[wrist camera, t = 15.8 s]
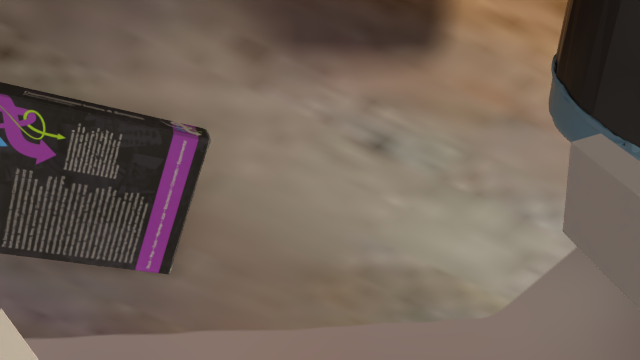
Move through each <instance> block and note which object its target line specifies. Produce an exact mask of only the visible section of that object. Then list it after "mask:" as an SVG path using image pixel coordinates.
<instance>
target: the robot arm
mask: <svg viewBox="0 0 640 360" xmlns="http://www.w3.org/2000/svg"><path fill="white" fill-rule="evenodd" d="M551 70H552V76H553V78H552V84H551V91H550V97H549V112H550V114H551V116H552V118H553V121H554V124H555V126H556V128H557V129H558V130H559V131H560V132H561V134H562V135H563V136H564V137H565V138H566V139H567V140H569V141H570V142H571V147H570V158H569V169H568V180H567V191H566V202H565V213H564V224H563V232H564V233H565V234H566V235H567V236H568V237H569V238H570V239H571V240H572V241H573V242H574V243H575V245H576V246H577V247H578V248H579V249H580V250H581V251H582V252H583V253H584V254H585V255H586V256H587V257H588V258H589V259H590V260H591V261H592V262H593V263H594V264H595V265H596V266H597V267H598V268H599V269H600V270H601V271H602V272H603V273H604V274H605V275H606V277H607V278H608V279H609V280H610V281H611V282H612V283H613V284H614V285H615V286H616V287H617V288H618V289H619V290H620V291H621V292H622V293H623V294H624V295H625V296H626V297H627V298H628V299H629V300H630V301H631V302H632V303H633V304H634V305H635V306H636V307H637V309H638V310H639V311H640V0H568V2H567V6H566V11H565V16H564V21H563V25H562V30H561V35H560V40H559V44H558V49H557V53H556V55H555V56H554V57H553V61H552V68H551ZM0 360H39V359H38V358H37V357H36V355H35V354H34V353H33V352H32V350H31V348H30V347H29V346H28V345H27V343H26V342H25V340H24V339H23V338H22V336H21V335H20V333H19V332H18V331H17V329H16V328H15V327H14V325H13V324H12V323H11V321H10V320H9V318H8V317H7V316H6V314H5V313H4V312H3V310H2V309H0Z"/></svg>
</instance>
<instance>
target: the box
mask: <svg viewBox="0 0 640 360" xmlns="http://www.w3.org/2000/svg"><path fill="white" fill-rule="evenodd" d="M210 142H211V139H210V136H209V133H208V132H207V130H205V129H203V128H199V127H195V126H190V125H186V124H181V123H177V122H173V121H168V120H164V119H160V118H155V117H151V116H146V115H142V114H138V113H134V112H129V111H125V110H120V109H116V108H111V107H107V106H103V105H98V104H93V103H89V102H85V101H81V100H76V99H72V98H67V97H63V96H58V95H54V94H50V93H45V92H41V91H37V90H32V89H28V88H23V87H19V86H14V85H10V84H6V83H1V82H0V253H2V254H10V255H17V256H25V257H34V258H42V259H50V260H58V261H66V262H74V263H81V264H88V265H97V266H105V267H115V268H123V269H130V270H139V271H146V272H154V273H163V274H169V273H170V272H171V269H172V266H173V261H174V257H175V254H176V250H177V247H178V244H179V240H180V237H181V233H182V230H183V227H184V224H185V221H186V217H187V214H188V211H189V207H190V204H191V201H192V197H193V194H194V191H195V187H196V184H197V181H198V178H199V174H200V171H201V168H202V165H203V162H204V158H205V155H206V152H207V149H208V147H209V144H210Z"/></svg>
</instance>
